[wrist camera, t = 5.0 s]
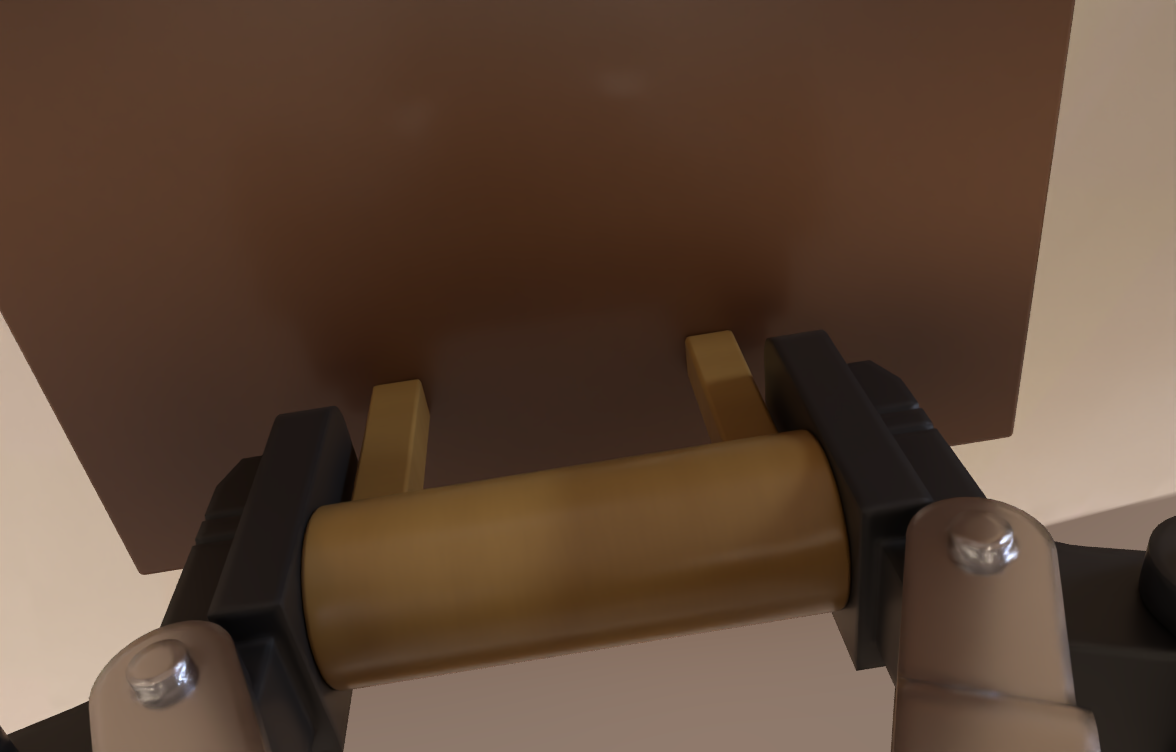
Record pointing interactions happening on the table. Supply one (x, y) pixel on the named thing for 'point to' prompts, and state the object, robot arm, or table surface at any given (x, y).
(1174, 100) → the table surface
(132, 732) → the robot arm
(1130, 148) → the table surface
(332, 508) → the lid
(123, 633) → the table surface
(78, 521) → the table surface
